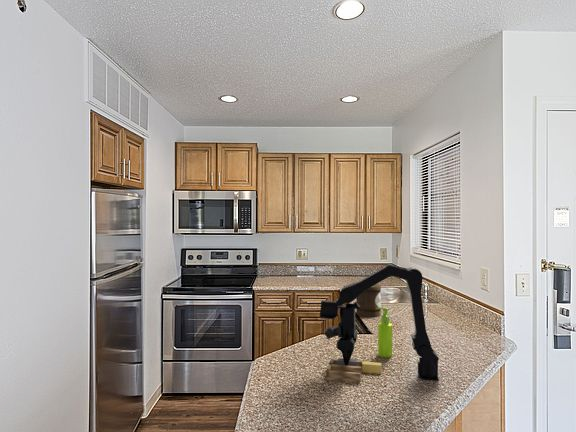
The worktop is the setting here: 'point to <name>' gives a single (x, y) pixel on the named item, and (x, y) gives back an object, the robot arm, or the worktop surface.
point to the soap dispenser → (384, 335)
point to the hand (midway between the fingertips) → (347, 361)
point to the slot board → (343, 372)
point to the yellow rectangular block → (371, 367)
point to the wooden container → (370, 302)
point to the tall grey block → (351, 363)
